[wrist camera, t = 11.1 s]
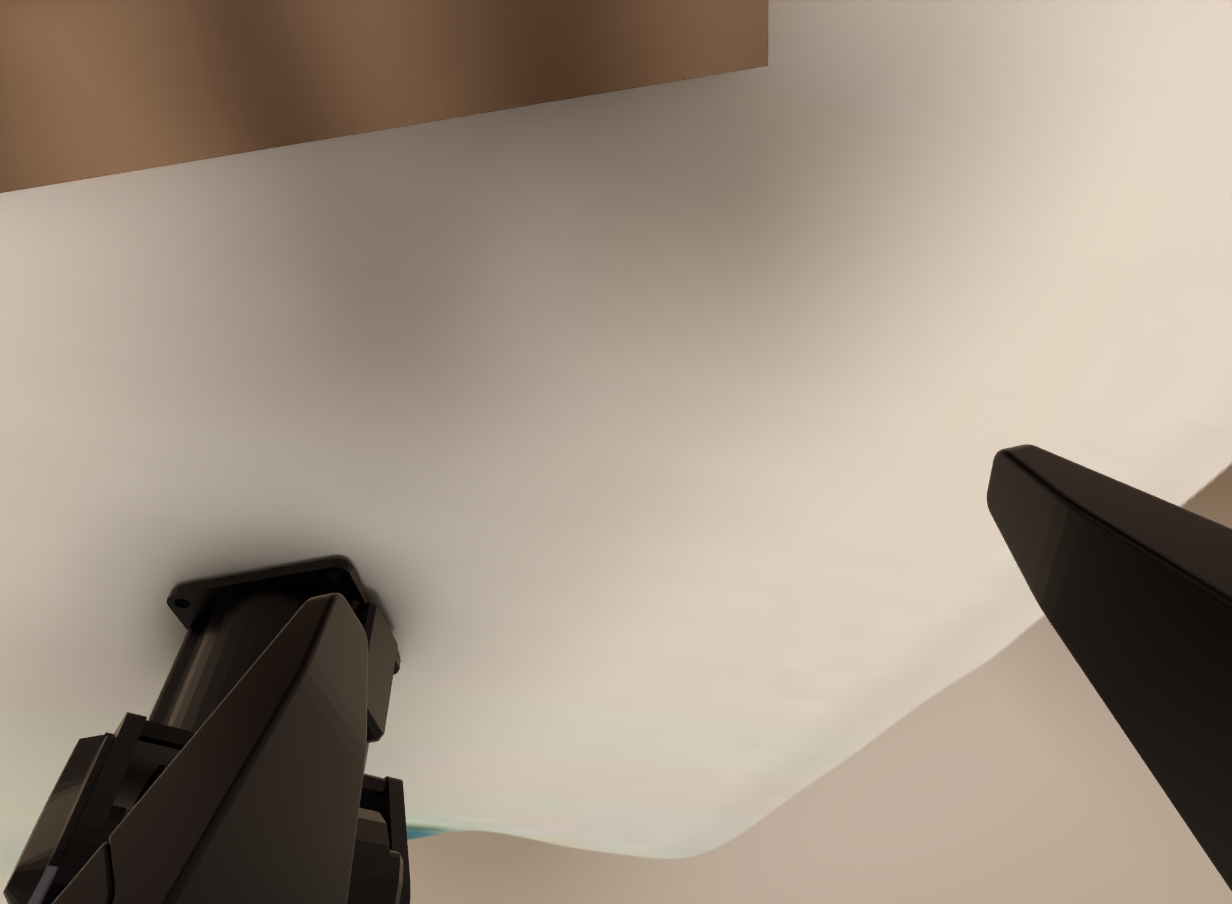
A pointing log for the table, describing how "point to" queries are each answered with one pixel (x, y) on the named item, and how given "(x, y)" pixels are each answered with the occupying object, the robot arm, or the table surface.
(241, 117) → the socket block
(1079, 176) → the table surface
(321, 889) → the robot arm
